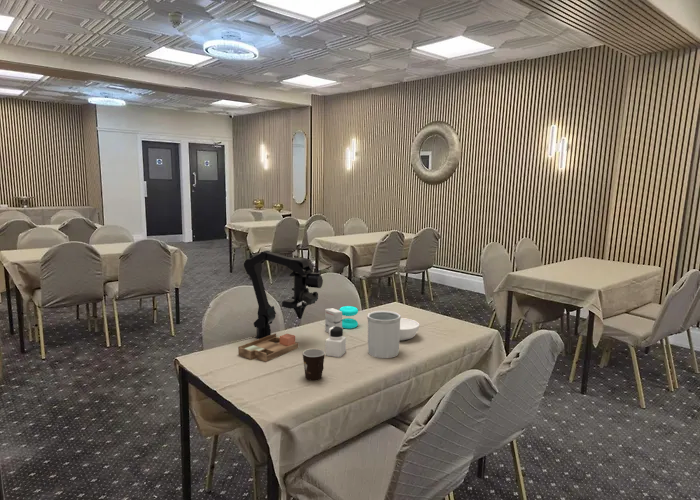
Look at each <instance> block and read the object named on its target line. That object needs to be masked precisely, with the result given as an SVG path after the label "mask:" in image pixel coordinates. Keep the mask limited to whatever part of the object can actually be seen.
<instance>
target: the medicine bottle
mask: <svg viewBox="0 0 700 500" xmlns="http://www.w3.org/2000/svg"><path fill="white" fill-rule="evenodd" d="M343 330H344V328H341V327H337V326H334V327H331V328H330V329H329V333H328V337H327V338H326V339H325V345H324V346H325V347H324V348H325V349H324V352H325V356H328V357H333V358H334V357H336V358H342V356H343V355H345V353H346V352H347V351H346V350H347V349H346V348H347V344H346V343H347V341H346V340H347V337H346V336H343V335H344V334H343V332H344V331H343Z"/></svg>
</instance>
